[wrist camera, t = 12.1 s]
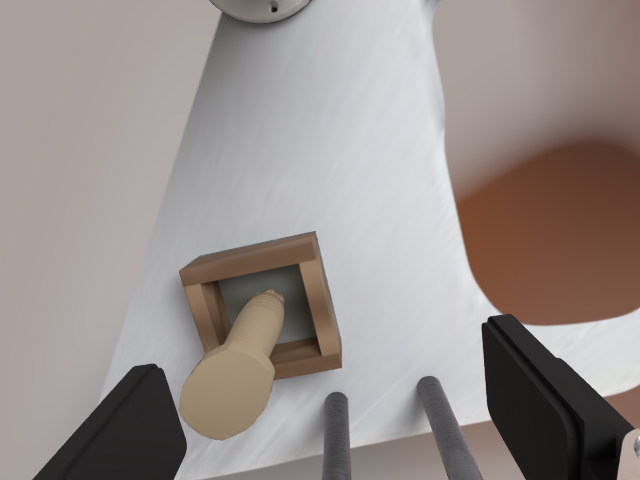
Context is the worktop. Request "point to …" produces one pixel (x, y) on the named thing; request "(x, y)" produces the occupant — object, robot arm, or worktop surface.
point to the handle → (235, 372)
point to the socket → (259, 275)
